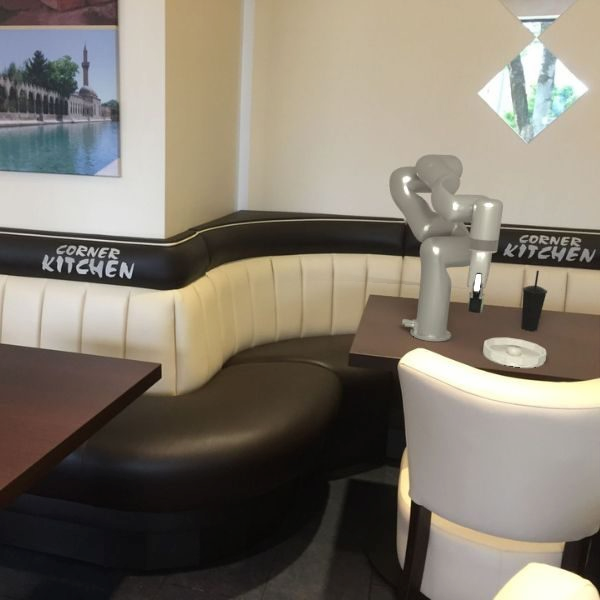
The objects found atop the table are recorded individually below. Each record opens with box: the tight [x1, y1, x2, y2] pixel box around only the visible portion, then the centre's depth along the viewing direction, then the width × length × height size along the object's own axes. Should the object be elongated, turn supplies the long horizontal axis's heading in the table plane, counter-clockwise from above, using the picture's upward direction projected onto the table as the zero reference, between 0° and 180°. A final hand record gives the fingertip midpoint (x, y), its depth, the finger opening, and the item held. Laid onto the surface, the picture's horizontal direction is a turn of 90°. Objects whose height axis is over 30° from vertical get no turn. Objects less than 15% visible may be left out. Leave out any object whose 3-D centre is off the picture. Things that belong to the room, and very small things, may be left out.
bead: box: [466, 291, 485, 314], centre depth 166 cm, size 4×4×5 cm
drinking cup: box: [521, 270, 548, 332], centre depth 198 cm, size 8×8×20 cm
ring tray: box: [482, 336, 547, 369], centre depth 174 cm, size 17×17×3 cm
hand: (474, 309), depth 166 cm, fingers closed on bead, 4 cm apart
